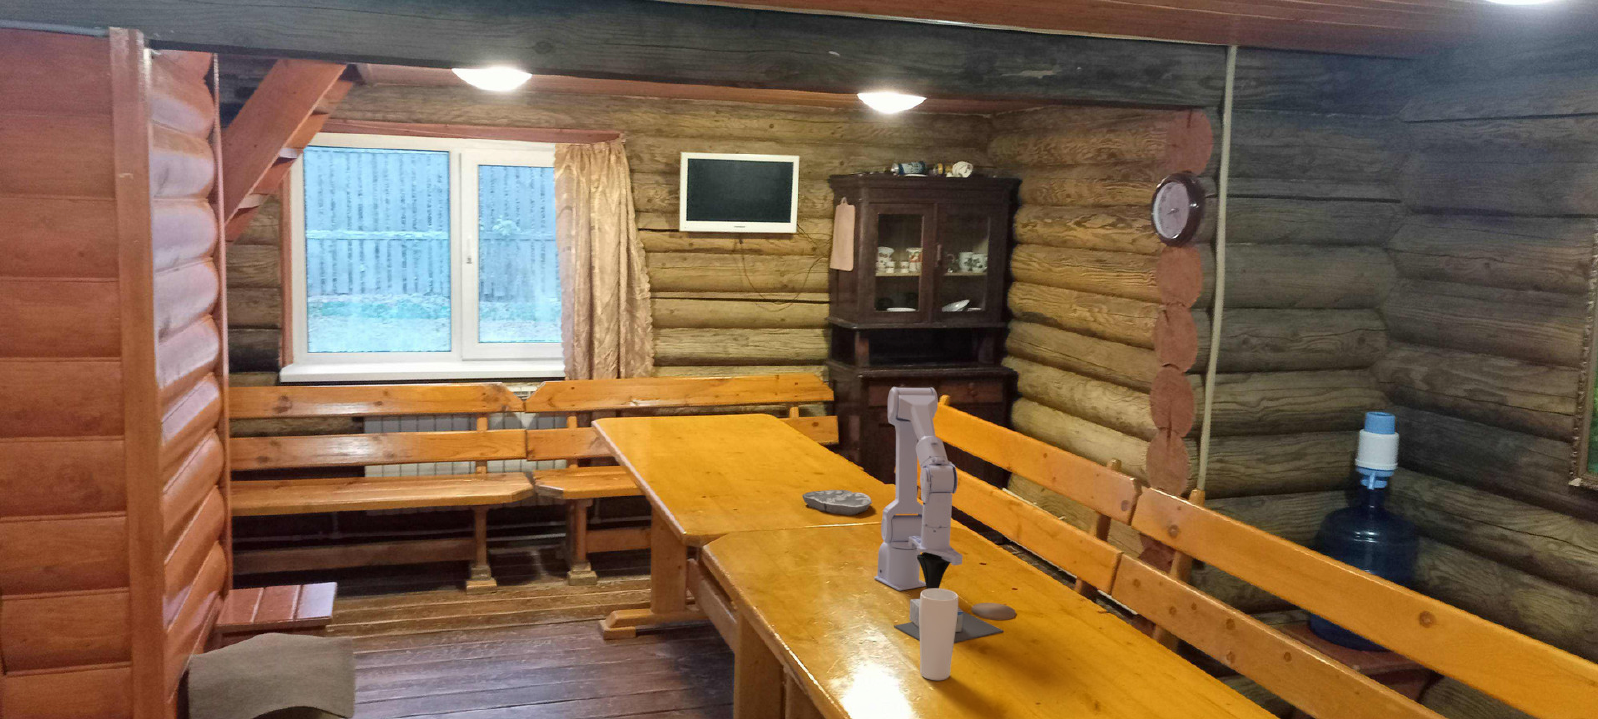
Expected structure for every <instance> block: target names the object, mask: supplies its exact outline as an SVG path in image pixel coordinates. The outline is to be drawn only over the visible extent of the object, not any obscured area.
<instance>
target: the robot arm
mask: <svg viewBox="0 0 1598 719" xmlns="http://www.w3.org/2000/svg"><path fill="white" fill-rule="evenodd" d="M887 396H888V397H887V420H888V423H889V424H891V425H893V426H894V427H895V428H894V429H895V499H894V500H893V501H891V502H890V503H889V504H888V505H886V506H885V507H884V508H883V510H882V520H881V522H880V523H881V526H880V532H881V534H880V535H881V539H882V541H883V542H882V543H881V545H880V546H879V549H878V554H877V555H878V557H877V575H875V576H873V579H874V580H877V581H879V582H880V583H882V584H885V585H887V586H888V587H890V588H893V589H894V590H896V591H906V590H911V589H916V588H922V587H925V588H926V589H932V588H939V589H940V587H941V583H942V580H943V577H944V575H945V573H946V571H947V569H948V567H949V566H950V564H951V566H959V565H962V564H963V554H961V553H959V552H958V551H957V550H955V549H954V548H953V547H952V546H951V545H950V544H951V543H950V542H951V528H952V527H951V525H952V506H953V494H954V495H955V493H957V489H958V471H957V467H956V465H955V464H953V463H952V461H949V460H948V455H947V452H946V449H945V445H944V442H943V440H942V439H941V438H939V437H936V436H937V435H936V432H935V424H934V418H935V416H936V413H937V411H938V406H939V405H938V404H939V400H938V393H937V391H936V389H935V388H934V387H897V386H893V387H891V389H890V390H889V393H888V395H887ZM918 464H919V468H920V477H919V478H920V479H919V481H920V491H921V492H920V493H921V494H920V498H921V501H922V504H921V503H920V502H918ZM920 569H921V570H922V573H923V578H924V581H923V580H920Z"/></svg>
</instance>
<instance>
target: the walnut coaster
mask: <svg viewBox="0 0 1598 719" xmlns="http://www.w3.org/2000/svg"><path fill="white" fill-rule="evenodd" d="M971 613H972V614H973V615H975V617H978V618H981V619H982V618H983V619H985V620H992V621H993V620H994V621H1006V620H1011V619H1013V618H1015V617H1016V613H1017V612H1016V610H1015V609H1014V608H1013V607H1011V606H1009V605H1006V604H1002V603H996V602H981V603H976V604H973V606H971Z"/></svg>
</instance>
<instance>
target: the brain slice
mask: <svg viewBox="0 0 1598 719" xmlns="http://www.w3.org/2000/svg"><path fill="white" fill-rule="evenodd" d="M801 496H802V499H803V501H804V503H806V505H807V506H808V507H809V508H813V509H815V510H817V511H820V512H827V513H829V514H835V515H837V514H838V515H844V516H846V515H847V516H854V515H857V514H860V513H864V512H866V511H867V510H868V508H869V507H870V505H872V503H873V501H872V499H871V497H870V496H869V495H868V494H865V493H863V492H859V491H858V492H857V491H856V492H852V491H851V490H846V489H827V490H817V491H816V490H815V491H810V492H809V491H808V492H805V493H804V494H802V495H801Z"/></svg>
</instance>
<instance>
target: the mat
mask: <svg viewBox="0 0 1598 719" xmlns="http://www.w3.org/2000/svg"><path fill="white" fill-rule="evenodd" d="M962 611H963V610H962ZM893 628H895V629H897V630H899V631H901V632H902V633H904V634H906V635H907V636H910V637H912V638H914V639H915V640H917V641H919V642H920V633H919V628H918V627H917V626H916V625H915V624H914V623H913V622H912V621H910V622H904V623H901V624H895V625H893ZM1000 633H1004V630H1003V629H1001V628H999V627H997V626H995V625H993V624H990V623H988V622H987V621H984V620H982V619H980V618H979V617H977V616H973V615H972V614H969V613H968V612H965V611H963V619H962V632H955V638H954V644H956V643H959V642H965V641H969V640H973V639H978V638H982V637H987V636H991V635H996V634H1000Z"/></svg>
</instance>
